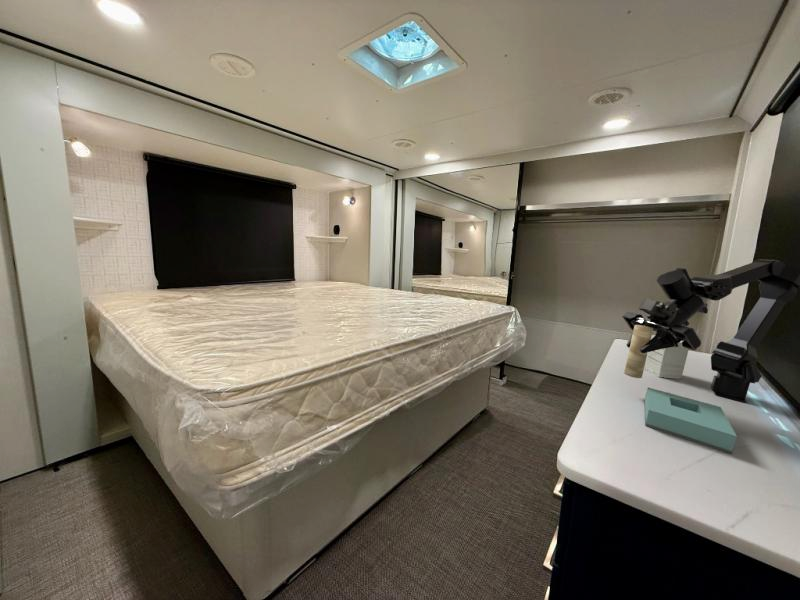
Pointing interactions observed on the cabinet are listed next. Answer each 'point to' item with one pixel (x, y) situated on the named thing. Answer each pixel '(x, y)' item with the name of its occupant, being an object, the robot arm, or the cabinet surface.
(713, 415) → the pin block
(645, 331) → the maple pin
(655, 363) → the supplement box
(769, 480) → the cabinet surface
